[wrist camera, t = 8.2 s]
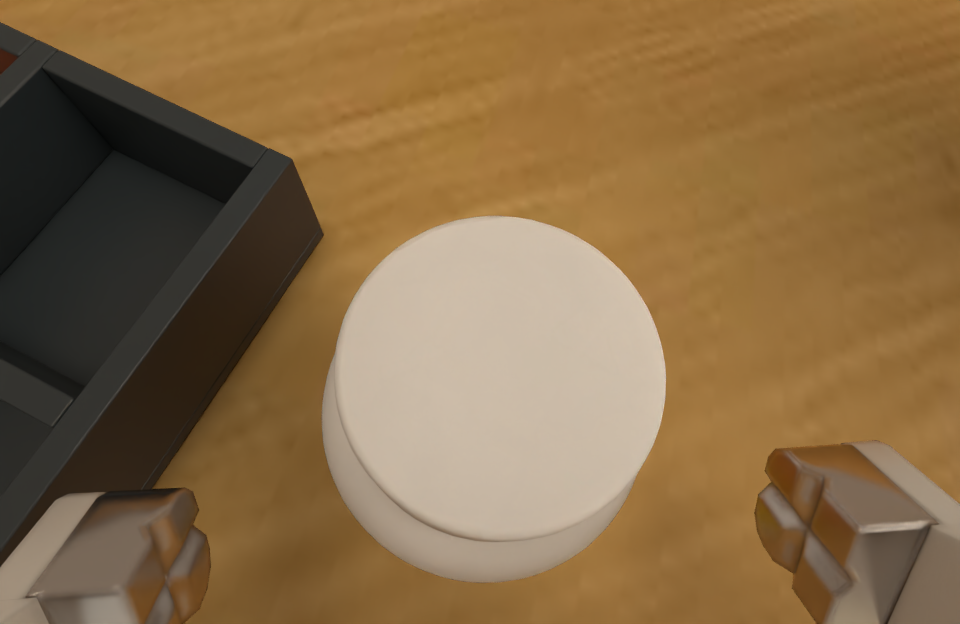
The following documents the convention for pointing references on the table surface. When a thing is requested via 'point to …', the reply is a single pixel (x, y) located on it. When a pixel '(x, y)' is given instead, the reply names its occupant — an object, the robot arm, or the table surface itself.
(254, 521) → the table surface
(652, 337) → the supplement bottle
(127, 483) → the black compartment tray
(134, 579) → the robot arm
